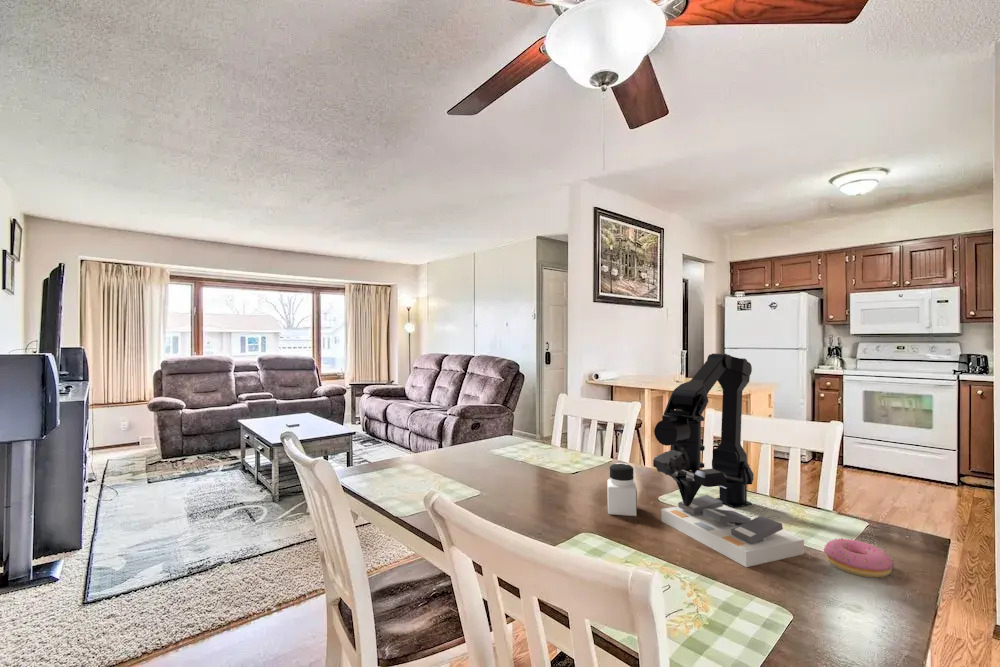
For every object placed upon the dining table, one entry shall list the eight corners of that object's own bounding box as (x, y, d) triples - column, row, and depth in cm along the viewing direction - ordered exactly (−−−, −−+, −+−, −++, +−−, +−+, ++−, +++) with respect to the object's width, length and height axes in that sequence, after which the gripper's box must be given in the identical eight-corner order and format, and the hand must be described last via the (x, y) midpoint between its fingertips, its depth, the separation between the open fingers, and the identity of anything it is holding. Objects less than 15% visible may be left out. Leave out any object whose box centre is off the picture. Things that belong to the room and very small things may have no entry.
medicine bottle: (637, 516, 119) (636, 469, 119) (608, 514, 121) (607, 467, 121) (634, 506, 126) (634, 462, 126) (607, 505, 128) (607, 460, 128)
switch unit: (712, 512, 122) (711, 498, 122) (803, 554, 98) (803, 536, 98) (661, 521, 116) (661, 506, 116) (746, 567, 93) (746, 548, 93)
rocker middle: (732, 515, 111) (732, 510, 111) (750, 523, 106) (750, 517, 107) (702, 513, 108) (703, 507, 108) (719, 521, 103) (720, 515, 103)
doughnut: (821, 550, 101) (821, 530, 101) (887, 562, 95) (887, 541, 95) (826, 572, 91) (826, 550, 91) (899, 587, 86) (899, 564, 86)
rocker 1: (707, 499, 119) (706, 494, 119) (722, 506, 114) (722, 500, 114) (678, 507, 116) (678, 502, 116) (693, 514, 111) (693, 509, 111)
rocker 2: (762, 520, 104) (761, 514, 104) (782, 529, 99) (781, 523, 99) (731, 534, 101) (730, 528, 101) (751, 544, 96) (750, 538, 96)
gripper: (636, 434, 120) (635, 496, 119) (689, 451, 102) (688, 523, 102) (671, 432, 124) (670, 492, 123) (728, 448, 106) (727, 517, 106)
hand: (686, 505), depth 113 cm, fingers closed, pressing on rocker 1
